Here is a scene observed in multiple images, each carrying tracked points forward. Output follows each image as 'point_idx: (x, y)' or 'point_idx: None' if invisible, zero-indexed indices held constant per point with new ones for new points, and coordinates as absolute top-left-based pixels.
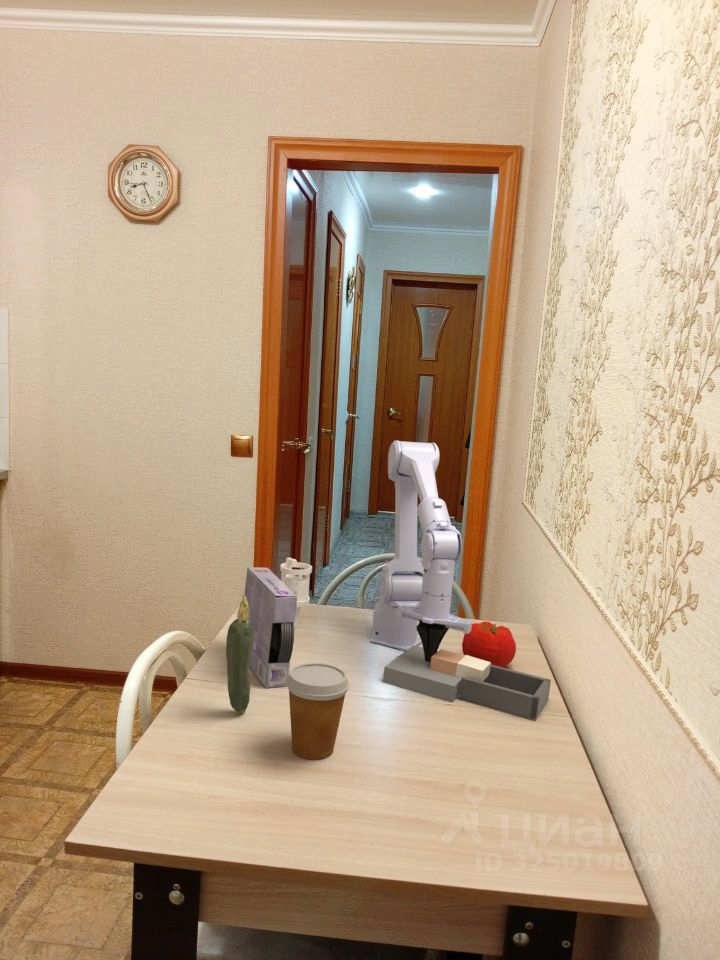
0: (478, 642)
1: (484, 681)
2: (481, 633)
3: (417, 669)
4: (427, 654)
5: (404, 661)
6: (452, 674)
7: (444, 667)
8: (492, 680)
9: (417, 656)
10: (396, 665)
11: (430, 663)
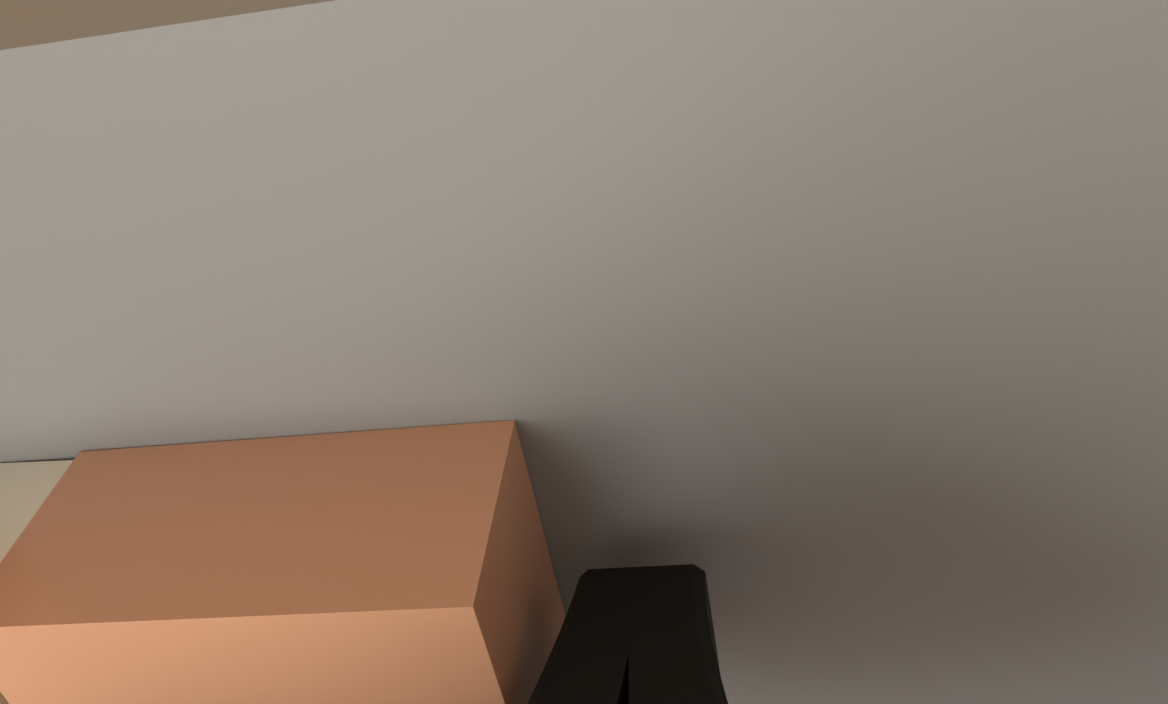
0: None
1: None
2: None
3: (684, 272)
4: (638, 666)
5: (1072, 409)
6: (117, 458)
7: (227, 508)
8: None
9: (952, 677)
10: (1159, 137)
11: None
